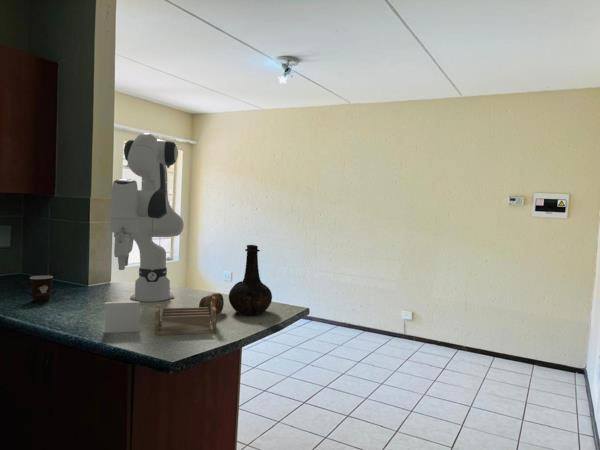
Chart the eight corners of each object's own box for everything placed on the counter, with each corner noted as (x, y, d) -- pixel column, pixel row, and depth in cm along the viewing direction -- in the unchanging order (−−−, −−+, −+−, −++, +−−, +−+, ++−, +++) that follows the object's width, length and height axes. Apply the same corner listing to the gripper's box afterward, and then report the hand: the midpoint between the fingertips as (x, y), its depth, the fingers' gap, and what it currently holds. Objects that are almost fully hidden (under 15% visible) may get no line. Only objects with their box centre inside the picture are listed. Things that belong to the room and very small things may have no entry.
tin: (204, 320, 170) (204, 298, 170) (197, 319, 171) (197, 297, 171) (224, 312, 184) (224, 291, 184) (217, 311, 185) (218, 291, 185)
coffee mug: (54, 297, 198) (54, 275, 197) (50, 302, 190) (50, 278, 189) (24, 298, 194) (24, 275, 194) (19, 303, 186) (19, 279, 185)
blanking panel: (105, 331, 153) (105, 302, 152) (139, 329, 156) (140, 301, 155) (104, 332, 151) (104, 303, 150) (139, 331, 154) (139, 302, 153)
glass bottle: (250, 305, 197) (252, 242, 196) (280, 312, 186) (282, 245, 184) (219, 312, 183) (220, 244, 182) (249, 320, 172) (251, 248, 171)
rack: (156, 324, 162) (157, 294, 162) (212, 322, 167) (213, 293, 167) (155, 335, 150) (155, 302, 149) (215, 332, 155) (216, 301, 154)
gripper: (130, 229, 142) (130, 272, 143) (136, 225, 162) (135, 263, 162) (109, 228, 141) (108, 272, 141) (117, 225, 160) (117, 263, 161)
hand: (123, 267), depth 152 cm, fingers open, 8 cm apart
